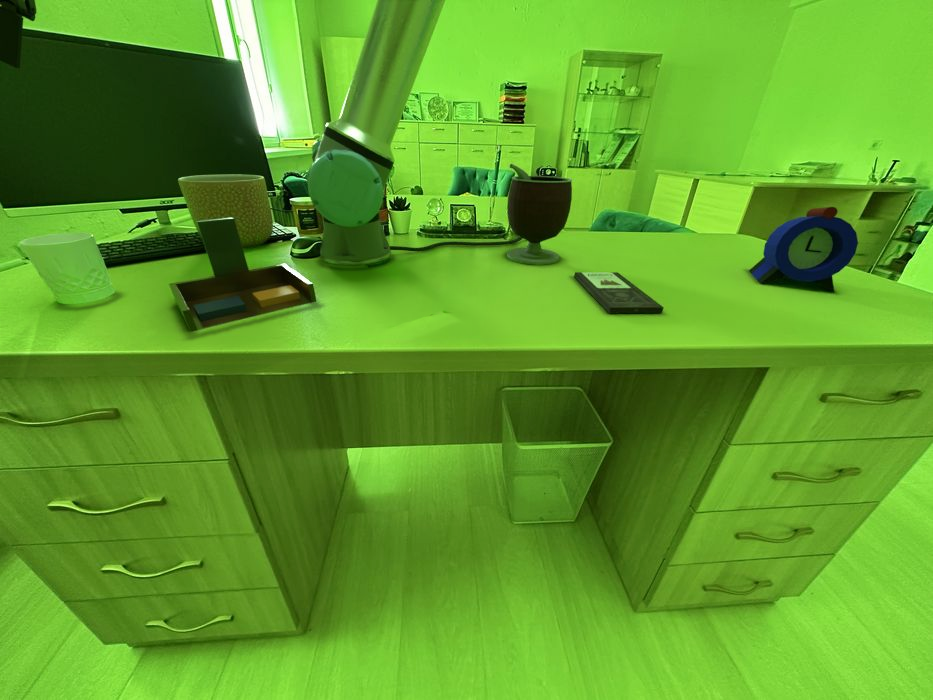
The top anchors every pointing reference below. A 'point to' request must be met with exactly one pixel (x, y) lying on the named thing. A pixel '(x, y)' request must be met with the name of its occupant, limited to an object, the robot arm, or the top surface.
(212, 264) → the dustpan
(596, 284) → the chocolate bar
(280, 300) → the block
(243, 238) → the planter
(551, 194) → the mate gourd
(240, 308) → the block
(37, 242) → the white cup
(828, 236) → the alarm clock
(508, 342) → the top surface
